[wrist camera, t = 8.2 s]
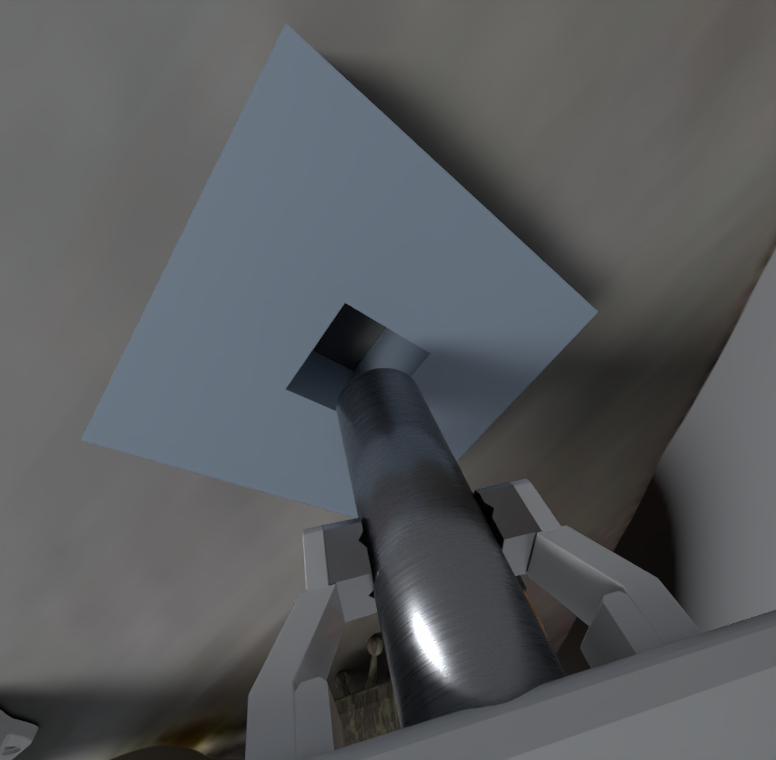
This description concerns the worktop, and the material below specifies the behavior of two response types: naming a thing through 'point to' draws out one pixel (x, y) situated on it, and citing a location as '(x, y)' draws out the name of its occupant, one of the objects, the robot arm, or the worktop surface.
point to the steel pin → (434, 561)
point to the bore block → (326, 296)
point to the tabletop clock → (367, 703)
